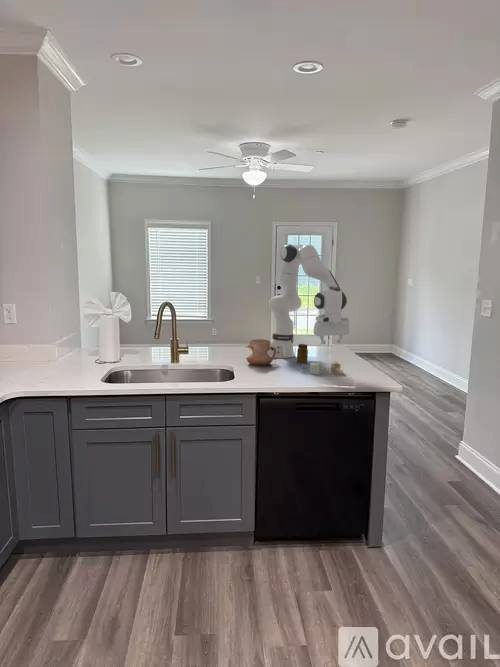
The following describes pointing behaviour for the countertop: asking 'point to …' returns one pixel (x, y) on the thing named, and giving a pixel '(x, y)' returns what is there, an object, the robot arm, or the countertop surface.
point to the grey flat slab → (322, 372)
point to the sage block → (314, 368)
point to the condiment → (302, 354)
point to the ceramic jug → (260, 352)
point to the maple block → (335, 367)
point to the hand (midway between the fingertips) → (331, 343)
